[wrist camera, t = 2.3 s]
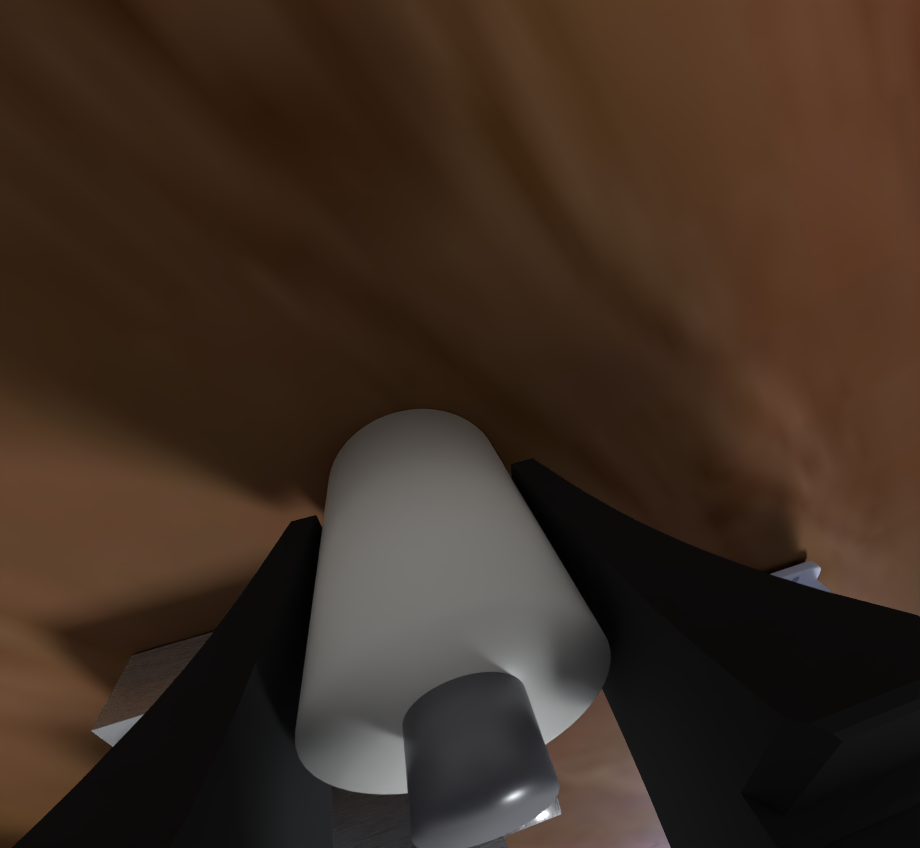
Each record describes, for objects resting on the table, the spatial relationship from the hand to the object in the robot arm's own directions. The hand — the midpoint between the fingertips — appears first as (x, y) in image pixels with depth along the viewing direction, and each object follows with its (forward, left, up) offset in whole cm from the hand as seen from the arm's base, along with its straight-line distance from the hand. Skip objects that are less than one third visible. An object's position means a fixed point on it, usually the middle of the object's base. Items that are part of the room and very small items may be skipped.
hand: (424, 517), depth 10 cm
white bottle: (0, 0, -1) cm, 1 cm away
